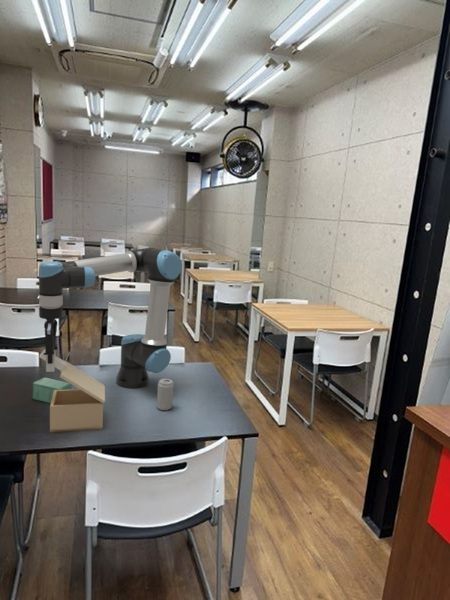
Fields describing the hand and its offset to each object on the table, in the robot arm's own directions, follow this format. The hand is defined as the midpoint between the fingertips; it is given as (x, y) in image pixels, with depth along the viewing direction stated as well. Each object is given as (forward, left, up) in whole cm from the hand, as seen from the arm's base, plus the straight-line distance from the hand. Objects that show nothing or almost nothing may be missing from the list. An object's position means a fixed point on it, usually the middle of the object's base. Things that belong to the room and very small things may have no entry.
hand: (50, 369), depth 145 cm
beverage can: (-43, -7, -21) cm, 49 cm away
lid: (-7, 0, -3) cm, 8 cm away
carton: (-9, 0, -21) cm, 23 cm away
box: (+2, -20, -22) cm, 30 cm away
